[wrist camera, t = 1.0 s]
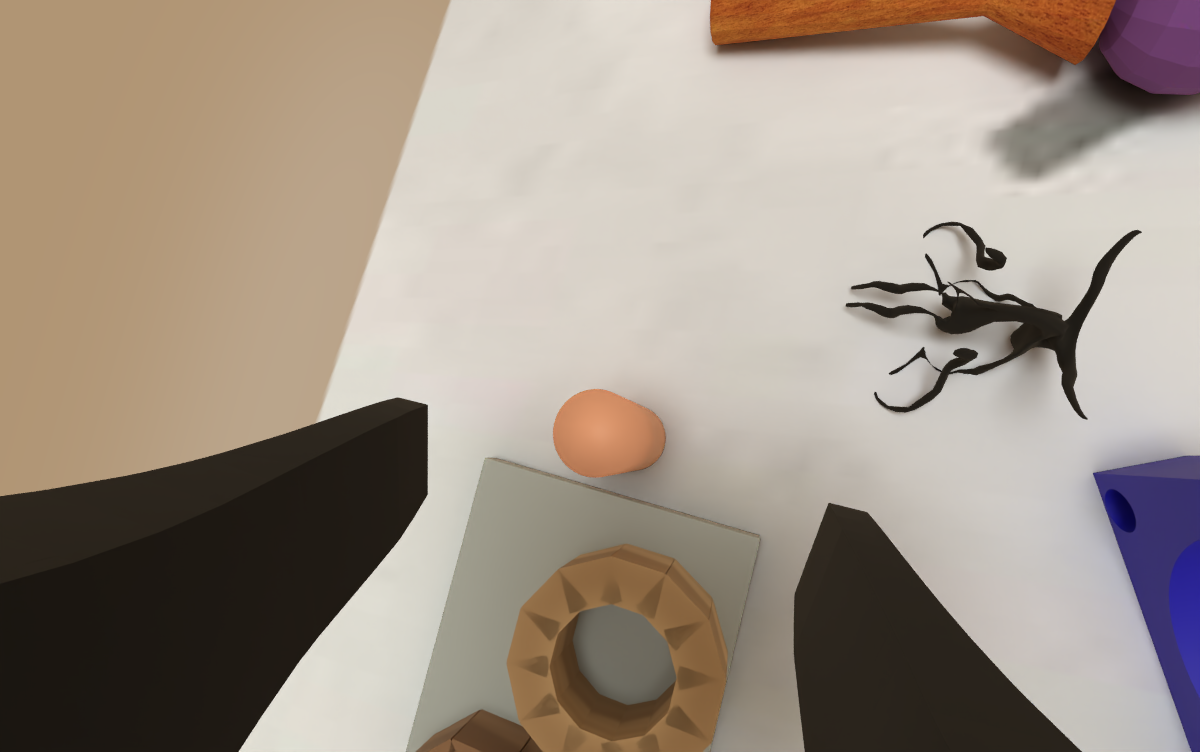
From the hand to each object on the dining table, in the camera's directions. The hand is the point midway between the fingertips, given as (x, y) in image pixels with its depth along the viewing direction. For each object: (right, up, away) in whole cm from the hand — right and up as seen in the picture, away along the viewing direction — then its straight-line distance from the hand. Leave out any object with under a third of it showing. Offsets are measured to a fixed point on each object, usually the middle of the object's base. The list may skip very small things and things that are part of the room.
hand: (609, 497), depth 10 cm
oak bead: (+1, -9, +13) cm, 16 cm away
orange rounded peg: (+1, -1, +15) cm, 15 cm away
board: (-1, -11, +14) cm, 18 cm away
